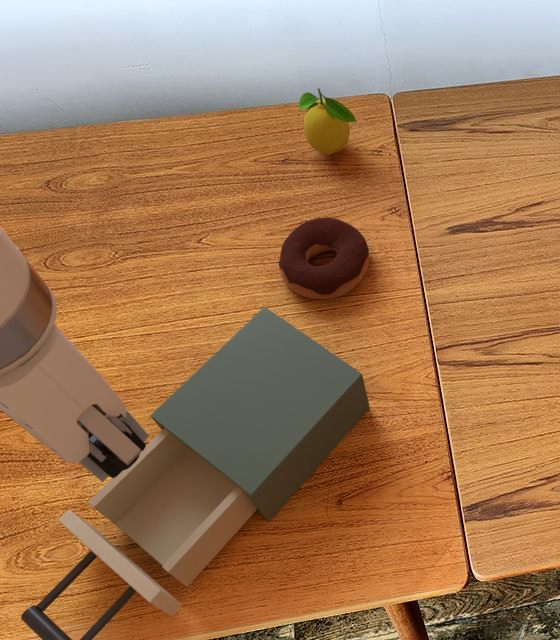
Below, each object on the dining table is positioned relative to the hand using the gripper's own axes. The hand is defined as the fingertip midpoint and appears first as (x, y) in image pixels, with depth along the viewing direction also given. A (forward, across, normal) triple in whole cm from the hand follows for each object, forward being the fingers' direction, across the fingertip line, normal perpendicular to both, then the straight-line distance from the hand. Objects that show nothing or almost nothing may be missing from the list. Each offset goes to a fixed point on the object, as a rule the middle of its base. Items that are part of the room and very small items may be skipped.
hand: (102, 440), depth 57 cm
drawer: (+16, +2, -3) cm, 17 cm away
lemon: (+17, -19, +44) cm, 51 cm away
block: (+1, 0, 0) cm, 1 cm away
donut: (+17, -7, +30) cm, 35 cm away
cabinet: (+17, +2, +12) cm, 21 cm away
